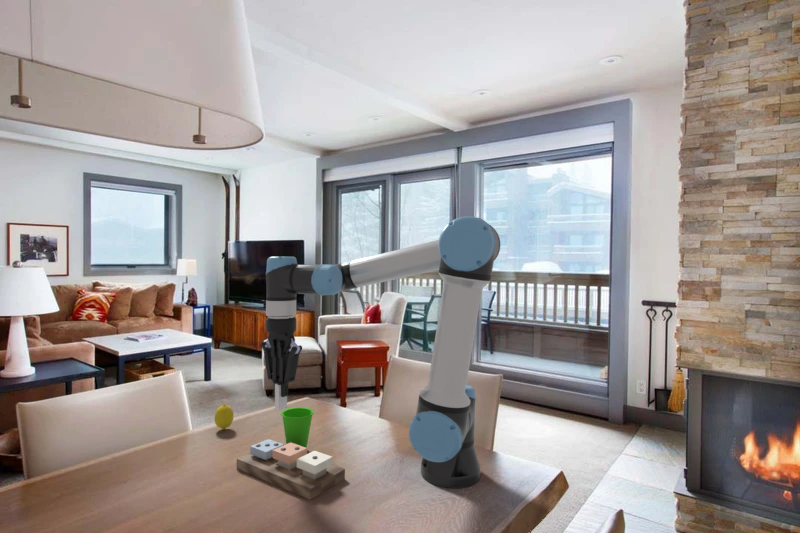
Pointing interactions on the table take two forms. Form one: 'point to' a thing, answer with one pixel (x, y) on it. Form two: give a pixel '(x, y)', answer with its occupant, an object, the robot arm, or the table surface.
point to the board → (290, 476)
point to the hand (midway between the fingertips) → (281, 408)
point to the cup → (297, 425)
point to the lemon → (224, 416)
